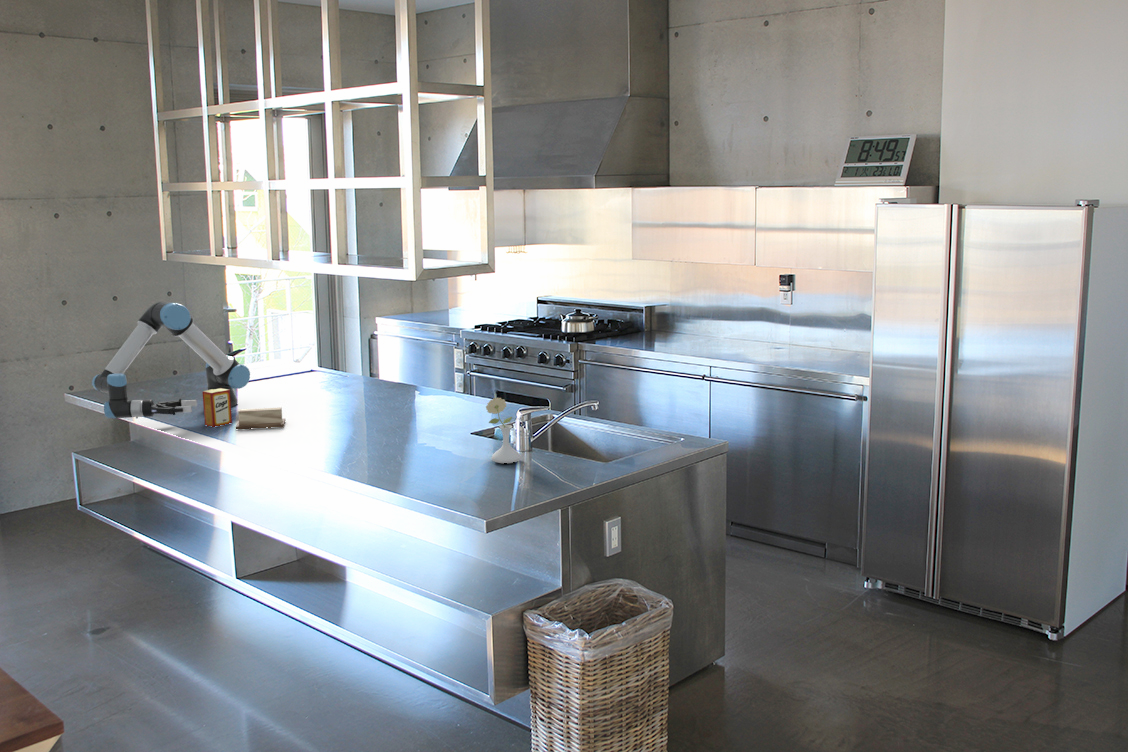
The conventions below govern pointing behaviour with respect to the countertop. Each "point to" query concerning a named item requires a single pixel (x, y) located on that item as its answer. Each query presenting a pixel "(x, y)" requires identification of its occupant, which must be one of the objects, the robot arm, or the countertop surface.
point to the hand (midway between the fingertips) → (194, 406)
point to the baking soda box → (217, 407)
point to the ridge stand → (260, 418)
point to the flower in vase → (506, 451)
